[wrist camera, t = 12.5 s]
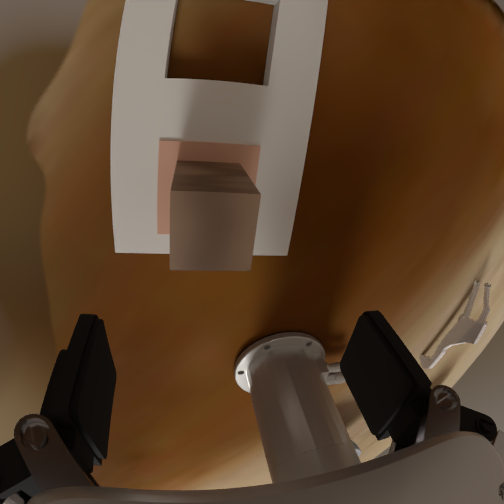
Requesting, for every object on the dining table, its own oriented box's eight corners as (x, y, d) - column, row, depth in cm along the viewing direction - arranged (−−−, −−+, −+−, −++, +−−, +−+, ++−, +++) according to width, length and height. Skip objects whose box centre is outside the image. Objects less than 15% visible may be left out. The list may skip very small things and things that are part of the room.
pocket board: (320, -11, 19) (330, -18, 17) (281, 245, 31) (287, 256, 29) (138, -31, 15) (134, -40, 13) (119, 242, 27) (114, 253, 25)
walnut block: (240, 163, 24) (261, 194, 17) (233, 220, 26) (250, 271, 19) (177, 160, 23) (170, 190, 16) (174, 218, 25) (169, 269, 18)
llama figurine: (446, 272, 48) (415, 364, 48) (495, 284, 37) (458, 388, 37) (450, 274, 48) (420, 364, 49) (498, 286, 38) (463, 387, 38)
